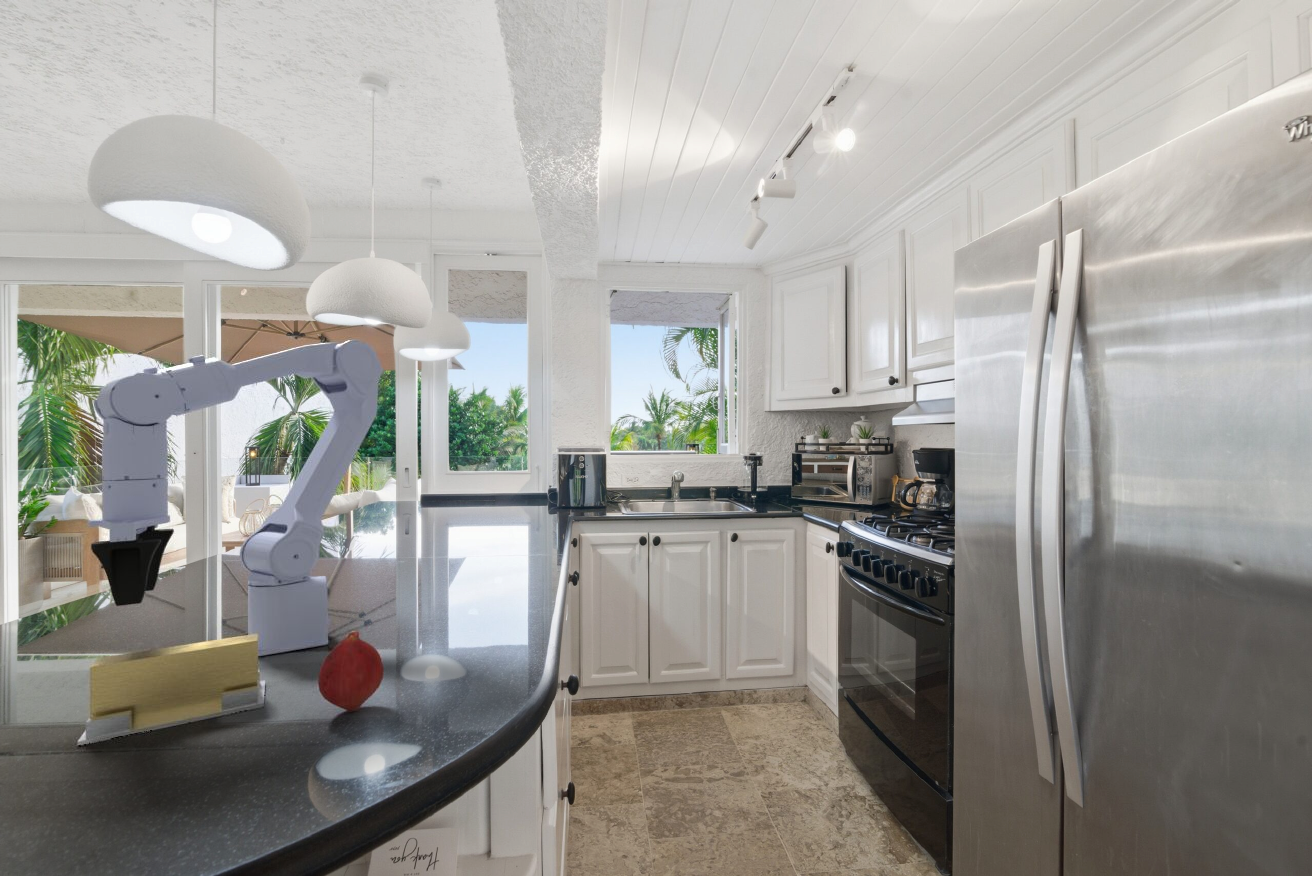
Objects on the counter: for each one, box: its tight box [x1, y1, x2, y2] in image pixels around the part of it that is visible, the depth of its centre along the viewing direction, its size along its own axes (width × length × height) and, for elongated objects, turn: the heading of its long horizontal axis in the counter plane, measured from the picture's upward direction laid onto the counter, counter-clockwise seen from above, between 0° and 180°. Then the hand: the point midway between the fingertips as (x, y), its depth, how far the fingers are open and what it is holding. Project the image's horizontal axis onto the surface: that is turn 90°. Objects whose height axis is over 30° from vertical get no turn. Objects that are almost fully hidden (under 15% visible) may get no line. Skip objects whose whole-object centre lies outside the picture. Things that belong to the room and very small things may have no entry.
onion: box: [317, 630, 384, 712], centre depth 59 cm, size 6×6×8 cm
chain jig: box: [77, 669, 266, 746], centre depth 60 cm, size 14×8×2 cm, turn 123°
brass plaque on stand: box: [89, 634, 259, 723], centre depth 60 cm, size 13×3×6 cm, turn 123°
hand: (136, 597), depth 68 cm, fingers open, 7 cm apart
